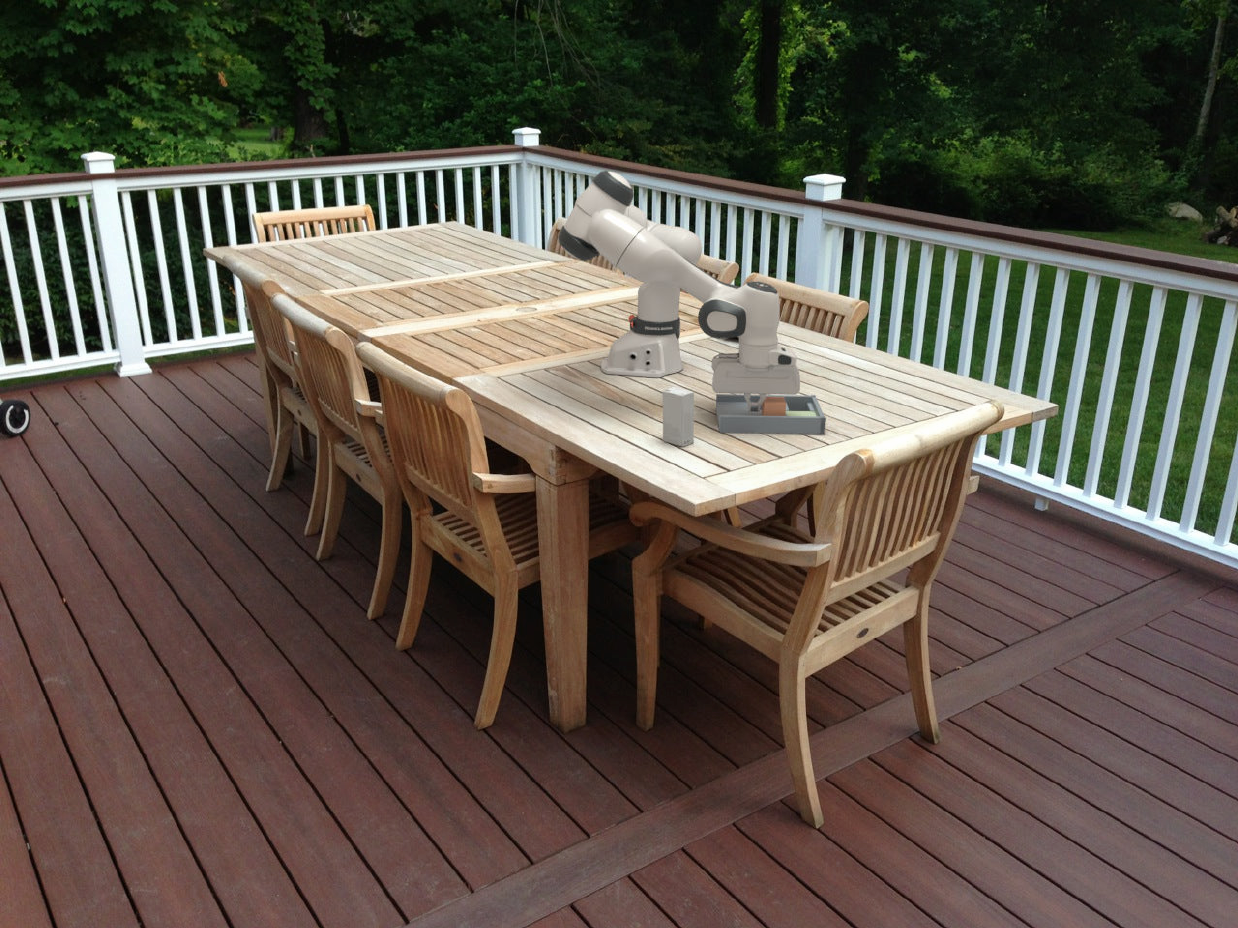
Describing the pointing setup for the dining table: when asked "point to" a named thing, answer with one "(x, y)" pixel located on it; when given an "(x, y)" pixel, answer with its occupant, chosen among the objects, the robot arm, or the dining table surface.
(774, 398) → the block
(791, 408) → the box
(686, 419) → the skincare box
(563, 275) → the dining table surface
